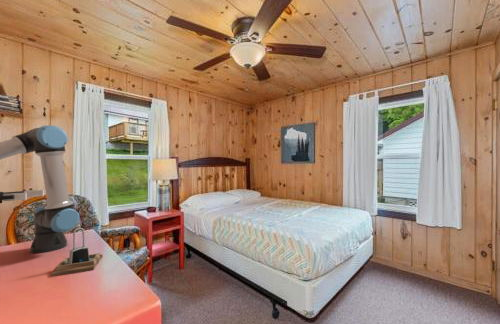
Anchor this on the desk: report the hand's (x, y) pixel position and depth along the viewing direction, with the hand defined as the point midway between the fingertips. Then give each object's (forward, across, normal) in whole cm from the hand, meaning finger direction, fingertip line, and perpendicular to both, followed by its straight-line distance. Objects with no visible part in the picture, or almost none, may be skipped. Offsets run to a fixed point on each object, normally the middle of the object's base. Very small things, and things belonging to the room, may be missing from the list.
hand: (35, 194), depth 95 cm
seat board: (+15, 0, -32) cm, 35 cm away
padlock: (+15, 0, -31) cm, 34 cm away
